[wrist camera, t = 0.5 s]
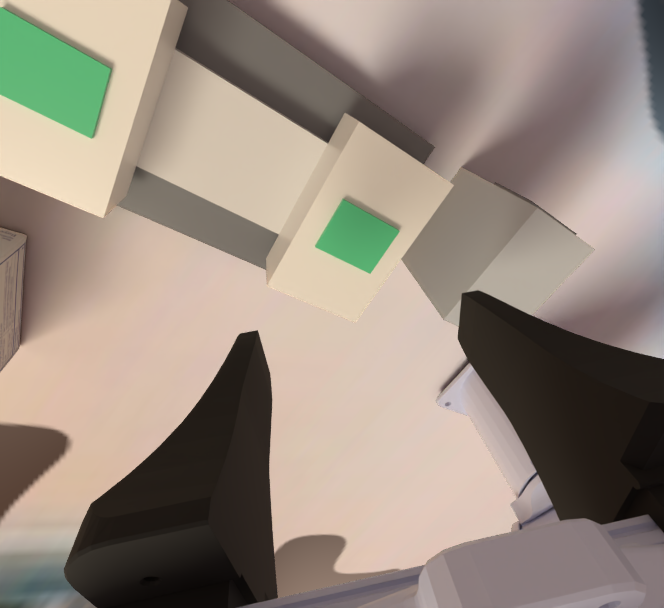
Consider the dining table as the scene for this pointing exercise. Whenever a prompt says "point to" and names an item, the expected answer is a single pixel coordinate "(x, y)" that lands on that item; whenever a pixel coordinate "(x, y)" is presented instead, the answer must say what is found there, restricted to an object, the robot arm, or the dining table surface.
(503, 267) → the loose module
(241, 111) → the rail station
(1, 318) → the medicine box
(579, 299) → the dining table surface
